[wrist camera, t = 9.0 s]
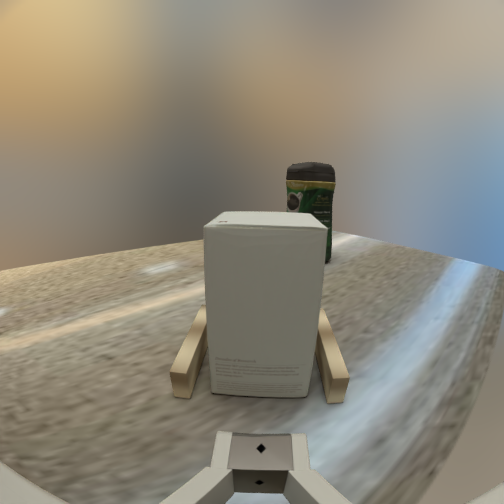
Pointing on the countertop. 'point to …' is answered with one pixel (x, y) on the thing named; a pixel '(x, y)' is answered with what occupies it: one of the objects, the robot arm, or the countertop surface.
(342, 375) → the corral
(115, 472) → the countertop surface
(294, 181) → the coffee jar
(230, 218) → the supplement box
